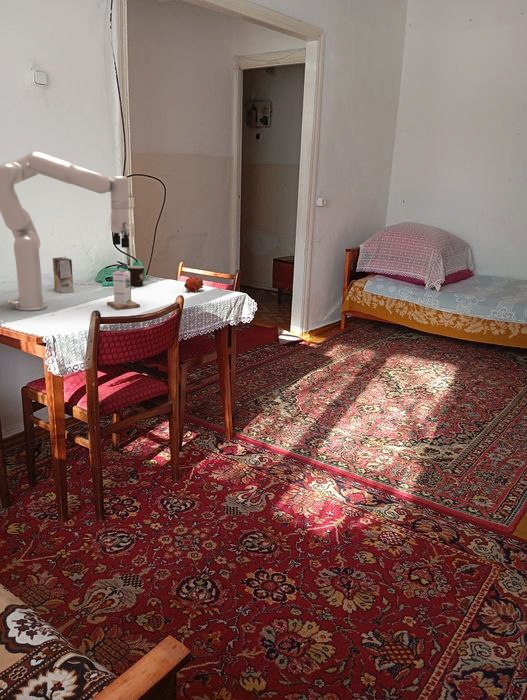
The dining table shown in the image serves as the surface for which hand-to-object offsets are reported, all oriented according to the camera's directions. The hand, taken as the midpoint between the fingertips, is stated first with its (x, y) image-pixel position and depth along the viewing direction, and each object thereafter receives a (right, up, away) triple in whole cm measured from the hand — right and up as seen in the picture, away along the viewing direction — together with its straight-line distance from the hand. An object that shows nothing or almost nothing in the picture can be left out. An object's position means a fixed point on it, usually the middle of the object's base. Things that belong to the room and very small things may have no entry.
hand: (120, 246), depth 250 cm
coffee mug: (-6, -12, +52) cm, 53 cm away
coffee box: (-36, -17, +33) cm, 52 cm away
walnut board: (-1, -26, +7) cm, 27 cm away
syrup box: (-1, -25, +7) cm, 26 cm away
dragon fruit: (+26, -15, +45) cm, 54 cm away
